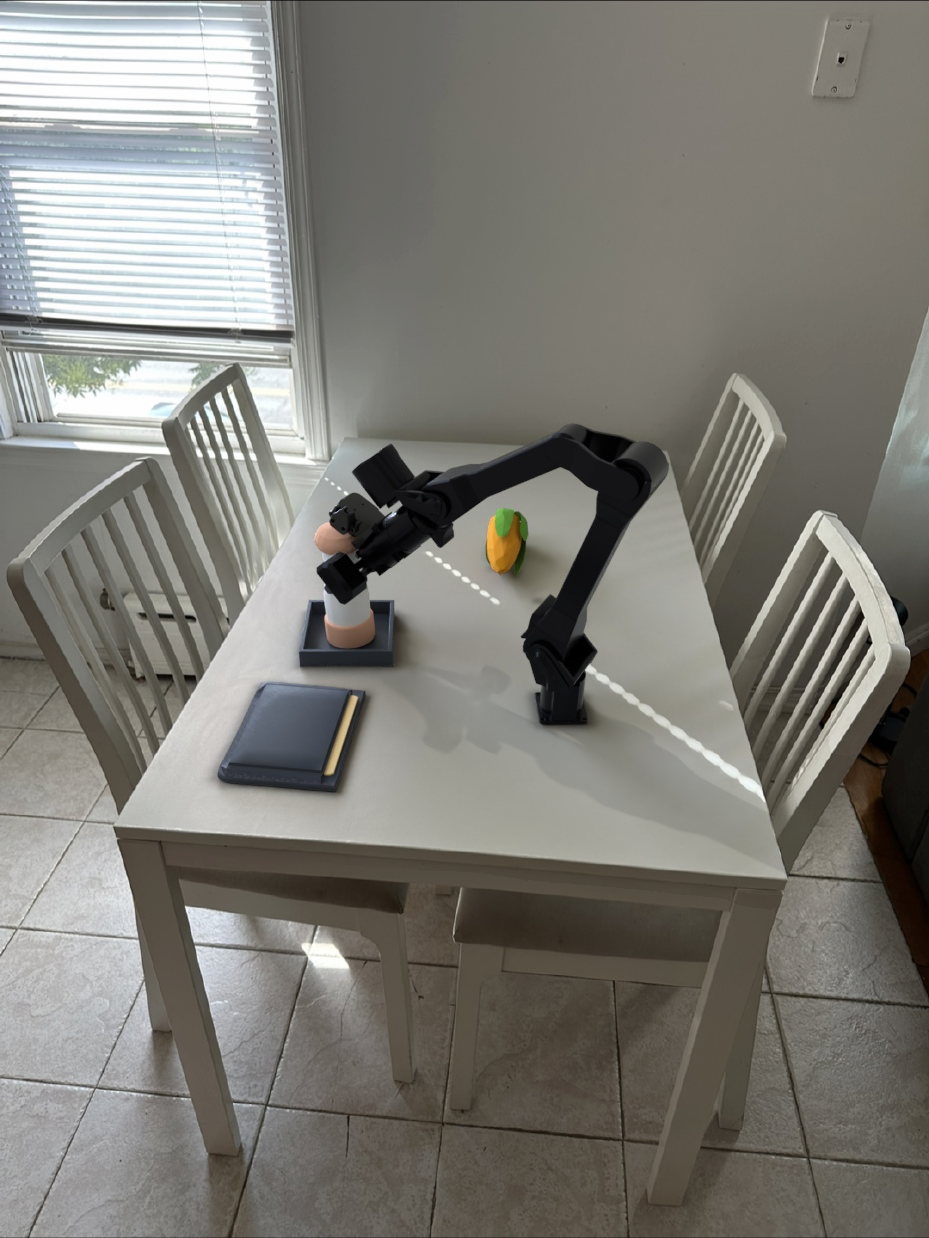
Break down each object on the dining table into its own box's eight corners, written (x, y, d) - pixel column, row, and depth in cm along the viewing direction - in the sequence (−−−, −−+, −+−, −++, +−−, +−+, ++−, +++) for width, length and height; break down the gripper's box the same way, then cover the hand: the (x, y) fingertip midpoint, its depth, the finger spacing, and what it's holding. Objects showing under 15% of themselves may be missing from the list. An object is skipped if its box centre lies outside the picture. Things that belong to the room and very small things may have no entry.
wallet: (261, 673, 127) (370, 683, 126) (262, 684, 128) (370, 695, 127) (209, 769, 110) (333, 783, 109) (210, 781, 111) (334, 795, 110)
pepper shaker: (318, 644, 136) (301, 528, 126) (339, 618, 142) (325, 505, 132) (363, 652, 134) (350, 535, 124) (383, 625, 140) (372, 511, 129)
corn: (529, 497, 164) (525, 549, 147) (529, 535, 168) (526, 590, 151) (487, 497, 165) (479, 549, 148) (489, 535, 169) (481, 590, 152)
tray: (392, 666, 133) (392, 651, 131) (299, 666, 132) (298, 651, 130) (394, 614, 145) (394, 599, 143) (309, 614, 144) (308, 599, 142)
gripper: (402, 460, 130) (341, 513, 140) (324, 508, 116) (262, 563, 126) (450, 524, 131) (385, 572, 141) (379, 579, 117) (312, 628, 127)
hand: (338, 581), depth 134 cm, fingers closed on pepper shaker, 5 cm apart
